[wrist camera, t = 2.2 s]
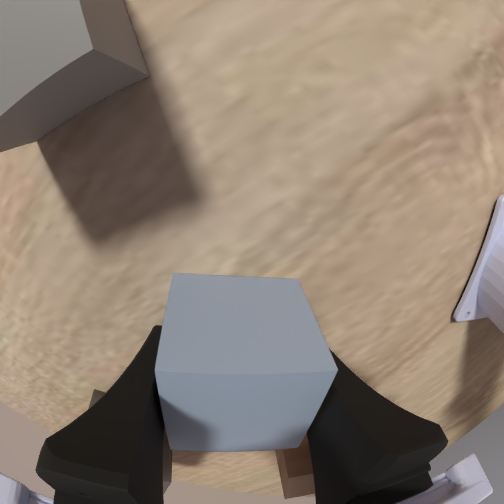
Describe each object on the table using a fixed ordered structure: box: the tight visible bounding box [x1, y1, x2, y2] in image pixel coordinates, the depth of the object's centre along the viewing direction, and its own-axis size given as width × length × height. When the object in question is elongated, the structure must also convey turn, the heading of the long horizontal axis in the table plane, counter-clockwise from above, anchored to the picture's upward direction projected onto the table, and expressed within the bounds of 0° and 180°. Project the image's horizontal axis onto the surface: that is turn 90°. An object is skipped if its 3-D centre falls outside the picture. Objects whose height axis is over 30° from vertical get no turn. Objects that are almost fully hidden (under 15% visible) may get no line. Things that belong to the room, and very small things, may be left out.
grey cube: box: [0, 0, 150, 152], centre depth 5 cm, size 5×5×5 cm
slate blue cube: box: [155, 273, 338, 452], centre depth 11 cm, size 5×5×5 cm
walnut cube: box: [275, 433, 315, 499], centre depth 16 cm, size 5×5×5 cm
